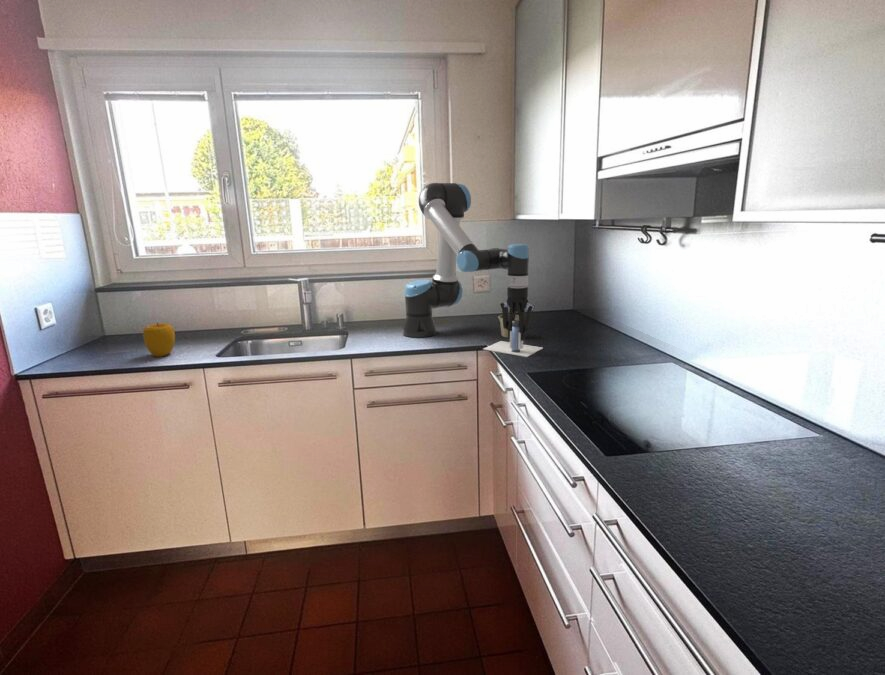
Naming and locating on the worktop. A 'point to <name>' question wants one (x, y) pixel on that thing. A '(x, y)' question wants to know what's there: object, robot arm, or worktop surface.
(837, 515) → the worktop surface
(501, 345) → the paper
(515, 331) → the cylinder
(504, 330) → the flower pot
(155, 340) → the apple
